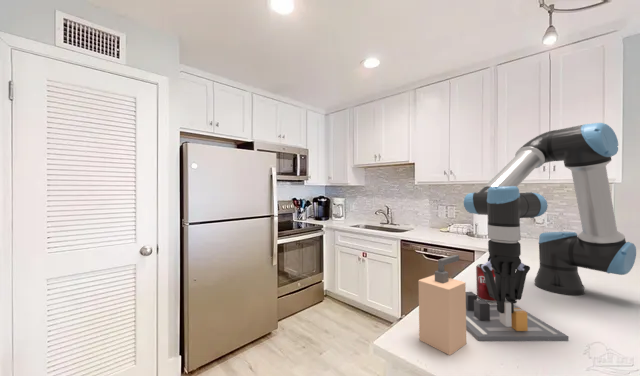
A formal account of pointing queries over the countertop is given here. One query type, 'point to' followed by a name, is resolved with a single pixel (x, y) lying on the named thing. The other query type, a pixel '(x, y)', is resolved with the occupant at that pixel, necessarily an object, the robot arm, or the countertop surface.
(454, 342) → the soap dispenser
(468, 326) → the panel
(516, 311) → the shipping carton with label
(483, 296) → the soda can
